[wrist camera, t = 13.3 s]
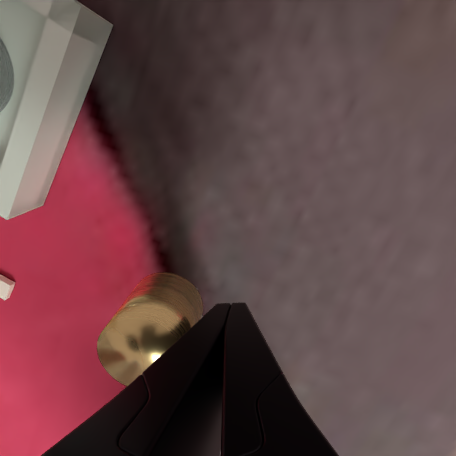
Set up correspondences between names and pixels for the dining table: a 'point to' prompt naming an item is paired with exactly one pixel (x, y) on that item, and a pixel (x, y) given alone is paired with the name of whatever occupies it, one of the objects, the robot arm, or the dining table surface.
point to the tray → (43, 92)
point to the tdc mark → (5, 287)
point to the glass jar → (5, 76)
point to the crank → (148, 324)
